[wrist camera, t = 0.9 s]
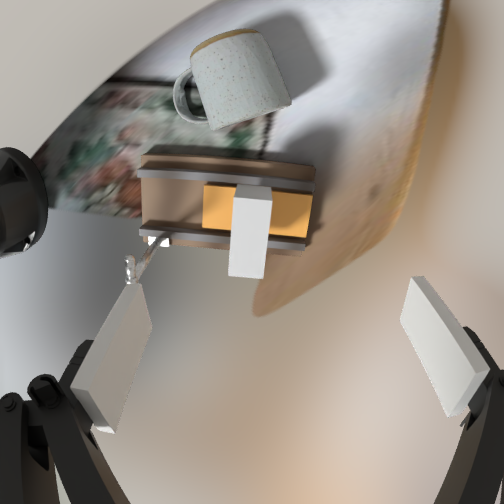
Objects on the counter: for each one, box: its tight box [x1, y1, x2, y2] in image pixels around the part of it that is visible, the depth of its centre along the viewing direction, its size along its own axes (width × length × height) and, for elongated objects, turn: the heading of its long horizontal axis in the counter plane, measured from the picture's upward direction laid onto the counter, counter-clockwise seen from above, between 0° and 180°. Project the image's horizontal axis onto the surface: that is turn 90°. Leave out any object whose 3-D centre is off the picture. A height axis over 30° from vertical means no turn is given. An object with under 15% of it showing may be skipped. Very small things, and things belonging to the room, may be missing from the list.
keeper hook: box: [125, 237, 170, 284], centre depth 30 cm, size 2×3×10 cm
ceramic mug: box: [173, 29, 292, 131], centre depth 25 cm, size 11×8×8 cm
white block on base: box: [202, 184, 313, 279], centre depth 29 cm, size 11×7×8 cm, turn 85°
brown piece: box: [137, 153, 316, 257], centre depth 33 cm, size 18×10×3 cm, turn 85°
